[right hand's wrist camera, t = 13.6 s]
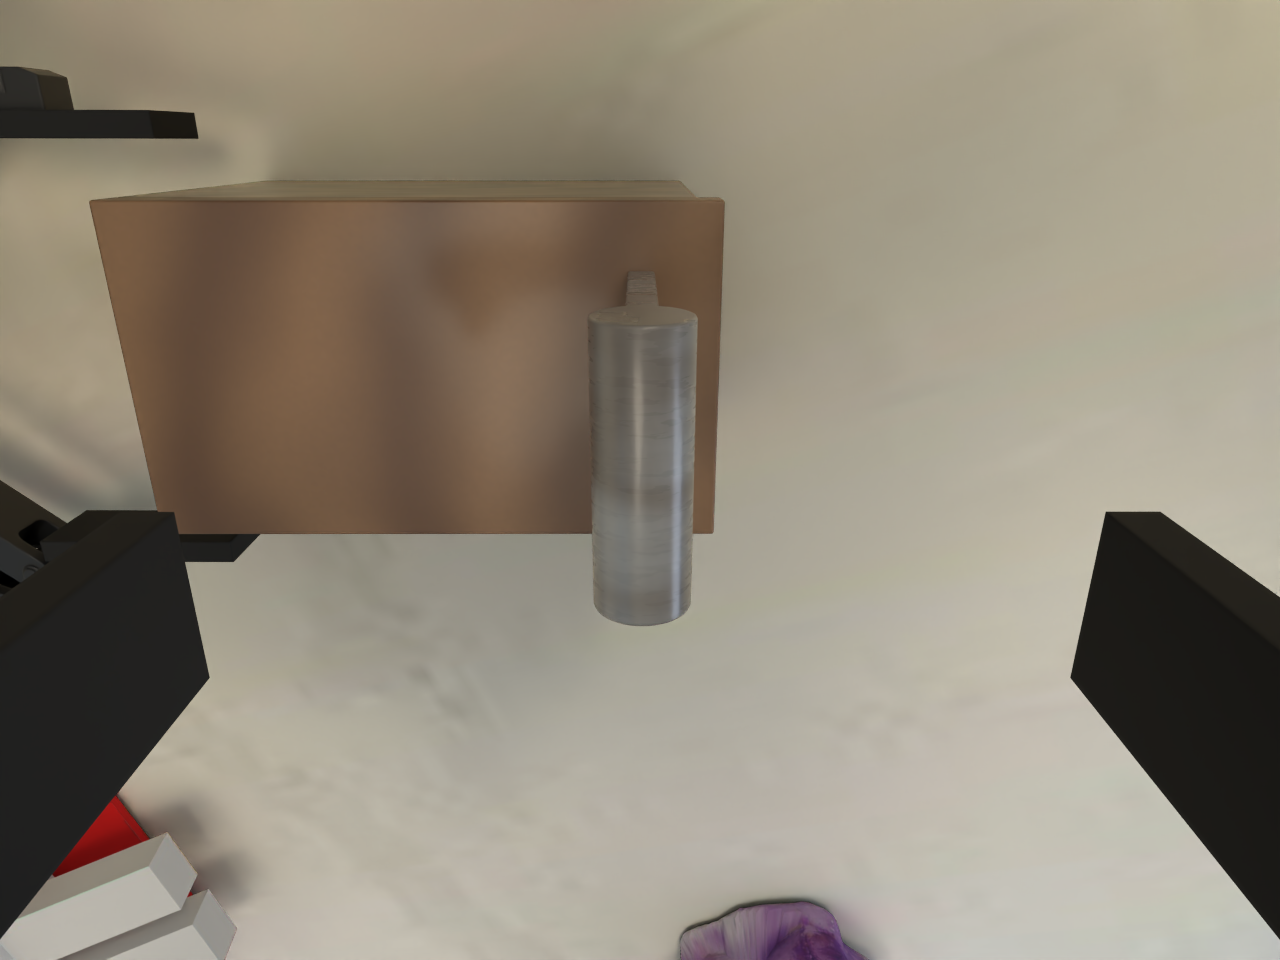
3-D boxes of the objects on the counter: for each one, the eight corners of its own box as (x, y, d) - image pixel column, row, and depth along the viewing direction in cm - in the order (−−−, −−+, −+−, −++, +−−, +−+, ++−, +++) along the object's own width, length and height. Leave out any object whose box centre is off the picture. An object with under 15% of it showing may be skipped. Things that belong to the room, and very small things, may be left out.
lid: (720, 196, 23) (768, 230, 15) (710, 517, 26) (744, 694, 18) (114, 197, 23) (-189, 230, 15) (181, 518, 26) (-32, 695, 18)
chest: (680, 180, 32) (697, 197, 23) (677, 418, 36) (690, 517, 27) (265, 180, 32) (115, 197, 23) (301, 419, 36) (182, 517, 27)
